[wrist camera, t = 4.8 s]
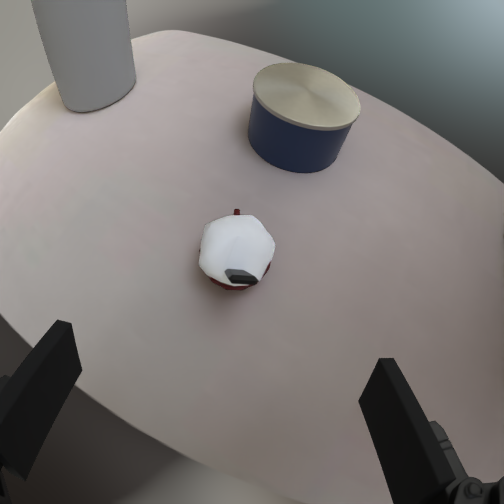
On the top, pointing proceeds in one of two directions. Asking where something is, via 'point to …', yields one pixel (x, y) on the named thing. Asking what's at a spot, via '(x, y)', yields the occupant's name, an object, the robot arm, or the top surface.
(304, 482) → the top surface
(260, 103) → the beige and blue cylinder
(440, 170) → the top surface
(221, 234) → the cocoa
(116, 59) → the cylinder vase
